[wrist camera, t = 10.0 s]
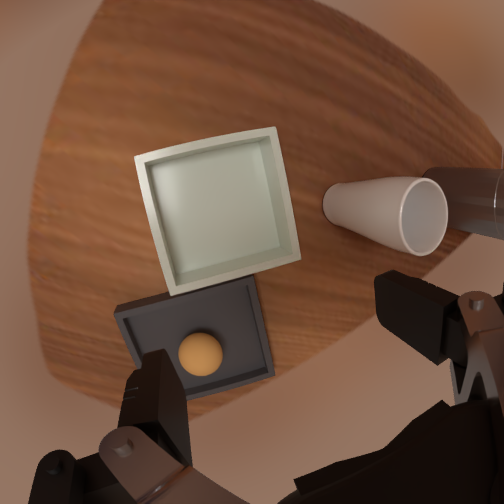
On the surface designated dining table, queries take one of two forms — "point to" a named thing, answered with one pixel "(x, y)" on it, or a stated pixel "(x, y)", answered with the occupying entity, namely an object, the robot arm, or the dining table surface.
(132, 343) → the tray
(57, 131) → the dining table surface
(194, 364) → the ball
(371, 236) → the drinking glass
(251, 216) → the open box
